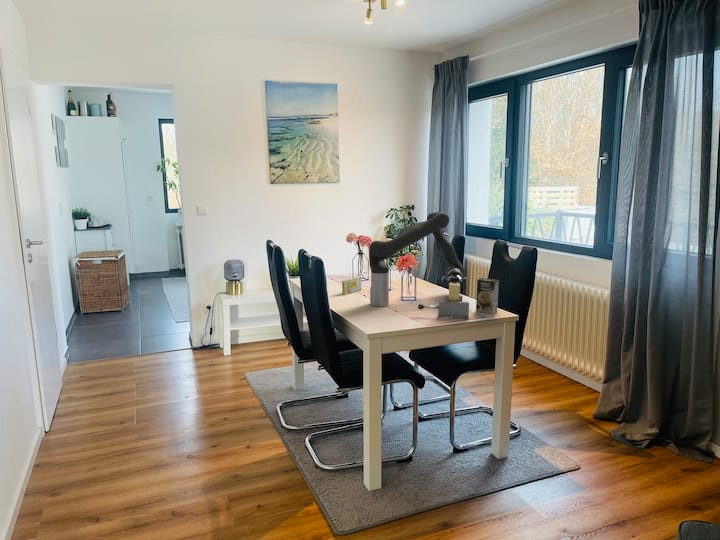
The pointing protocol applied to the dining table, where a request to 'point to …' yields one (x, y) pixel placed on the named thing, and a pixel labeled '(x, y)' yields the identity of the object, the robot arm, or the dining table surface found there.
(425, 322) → the dining table surface
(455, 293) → the brass block
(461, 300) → the moving jaw
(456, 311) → the vise
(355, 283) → the candy box
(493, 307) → the coffee box
